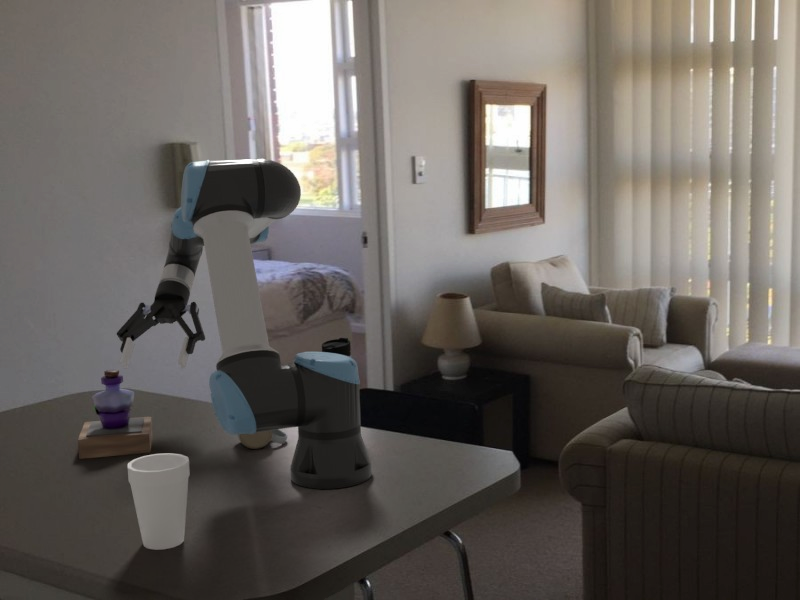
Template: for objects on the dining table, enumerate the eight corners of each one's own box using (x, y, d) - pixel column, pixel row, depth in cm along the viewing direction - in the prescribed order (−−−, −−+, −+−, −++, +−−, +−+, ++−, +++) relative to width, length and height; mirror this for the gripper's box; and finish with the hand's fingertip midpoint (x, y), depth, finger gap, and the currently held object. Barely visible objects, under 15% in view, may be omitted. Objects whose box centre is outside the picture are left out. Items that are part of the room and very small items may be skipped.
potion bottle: (93, 423, 213) (88, 368, 211) (134, 418, 215) (130, 364, 214) (95, 433, 205) (91, 376, 203) (138, 428, 207) (134, 372, 206)
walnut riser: (150, 452, 205) (148, 432, 204) (79, 458, 202) (77, 438, 202) (152, 434, 219) (151, 415, 218) (86, 439, 216) (84, 420, 215)
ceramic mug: (239, 452, 203) (238, 415, 202) (234, 441, 211) (232, 406, 210) (290, 447, 206) (289, 411, 205) (283, 437, 214) (282, 402, 213)
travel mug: (360, 428, 218) (357, 338, 215) (343, 436, 212) (339, 344, 209) (337, 425, 221) (333, 336, 218) (319, 432, 216) (315, 341, 213)
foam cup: (198, 529, 162) (193, 452, 160) (188, 552, 153) (183, 470, 151) (139, 531, 162) (134, 454, 160) (126, 554, 153) (120, 473, 151)
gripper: (230, 297, 232) (211, 374, 220) (130, 299, 237) (105, 374, 224) (220, 277, 226) (200, 355, 214) (118, 279, 231) (92, 355, 218)
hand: (152, 365), depth 219 cm, fingers open, 13 cm apart
